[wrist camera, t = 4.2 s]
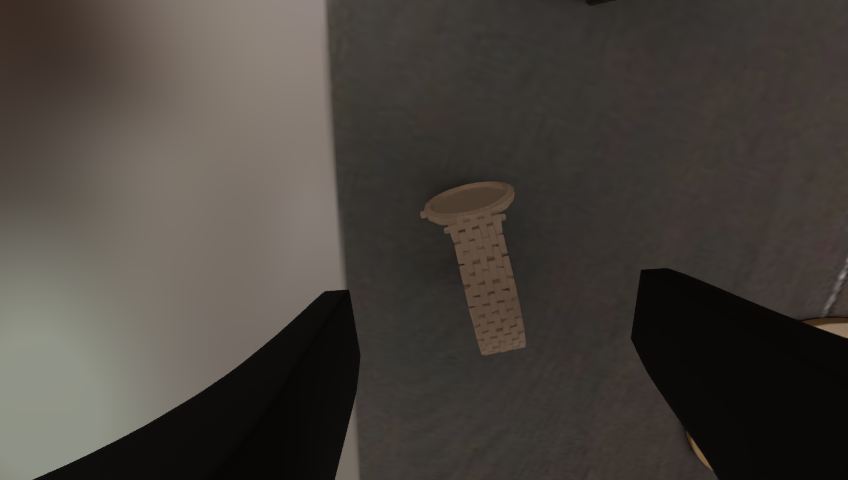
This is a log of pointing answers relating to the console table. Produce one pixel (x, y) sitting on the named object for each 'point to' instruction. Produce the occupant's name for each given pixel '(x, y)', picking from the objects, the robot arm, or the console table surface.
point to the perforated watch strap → (483, 260)
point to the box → (597, 1)
